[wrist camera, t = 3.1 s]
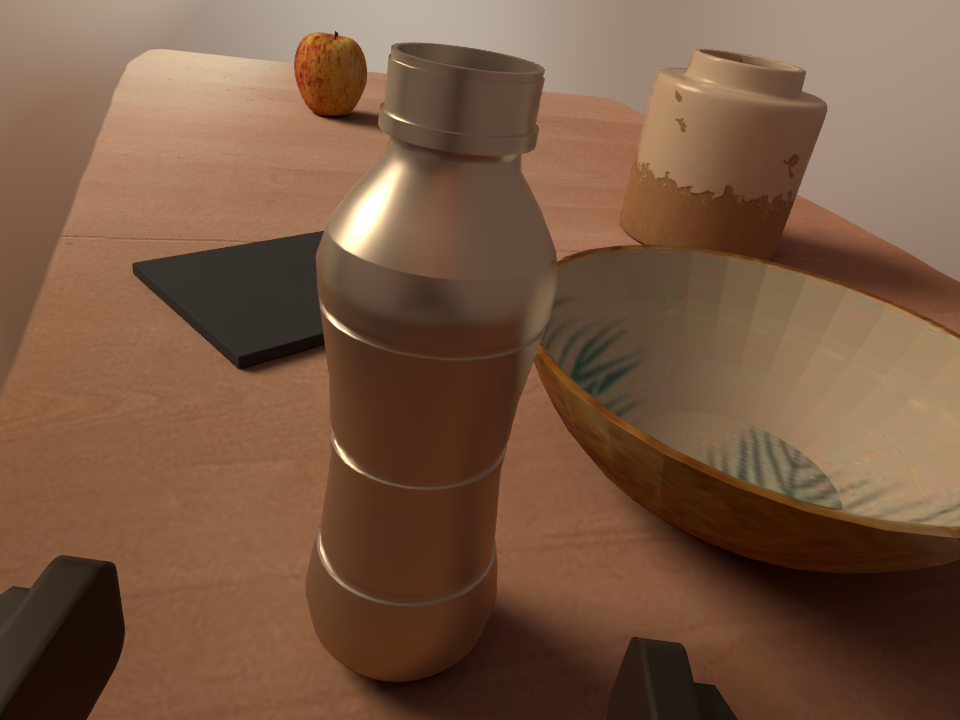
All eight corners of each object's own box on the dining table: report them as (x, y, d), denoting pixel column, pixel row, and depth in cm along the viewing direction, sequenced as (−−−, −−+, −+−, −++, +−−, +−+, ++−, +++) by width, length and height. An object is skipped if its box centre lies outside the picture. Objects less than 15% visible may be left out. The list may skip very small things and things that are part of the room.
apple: (331, 102, 101) (334, 24, 96) (379, 119, 97) (385, 37, 92) (279, 107, 94) (280, 23, 89) (328, 125, 90) (332, 38, 85)
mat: (238, 369, 41) (238, 357, 40) (132, 273, 49) (131, 262, 48) (450, 308, 51) (452, 297, 51) (334, 237, 59) (335, 228, 59)
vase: (589, 211, 75) (629, 36, 67) (701, 209, 82) (750, 50, 73) (685, 273, 64) (747, 71, 55) (806, 265, 70) (878, 84, 62)
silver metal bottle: (511, 686, 26) (663, 100, 16) (316, 730, 23) (352, 71, 13) (456, 554, 31) (545, 48, 21) (291, 578, 28) (304, 20, 19)
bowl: (1125, 636, 32) (1245, 499, 28) (628, 750, 24) (698, 579, 20) (775, 351, 53) (817, 248, 49) (440, 360, 45) (457, 237, 41)
